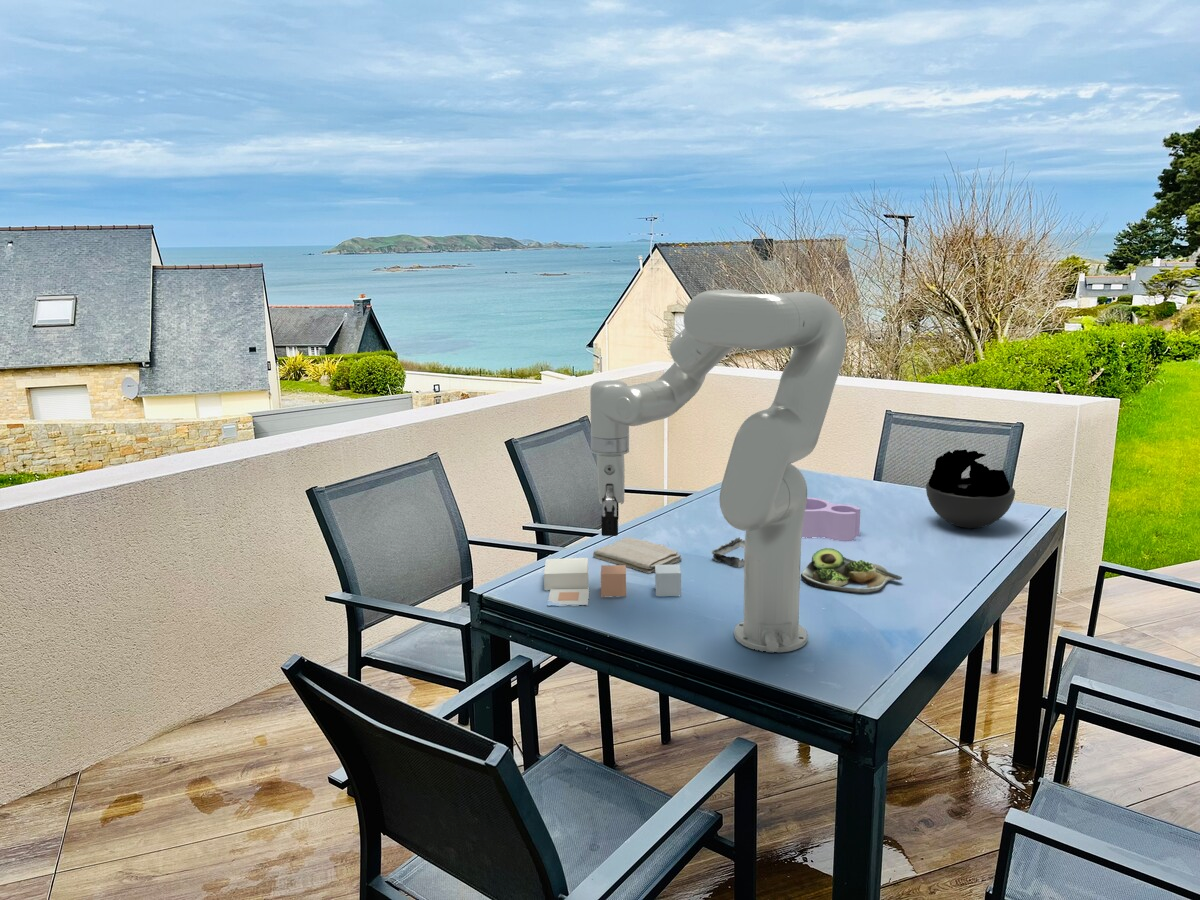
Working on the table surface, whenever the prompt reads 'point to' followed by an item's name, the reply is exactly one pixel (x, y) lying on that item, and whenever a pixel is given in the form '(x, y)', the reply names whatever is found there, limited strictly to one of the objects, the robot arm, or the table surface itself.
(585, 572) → the base block
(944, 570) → the table surface
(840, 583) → the salad plate
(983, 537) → the table surface
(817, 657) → the table surface
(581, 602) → the card
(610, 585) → the terracotta block
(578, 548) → the table surface
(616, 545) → the washcloth
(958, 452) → the coal bowl
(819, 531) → the pink desk organizer
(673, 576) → the grey blue block
